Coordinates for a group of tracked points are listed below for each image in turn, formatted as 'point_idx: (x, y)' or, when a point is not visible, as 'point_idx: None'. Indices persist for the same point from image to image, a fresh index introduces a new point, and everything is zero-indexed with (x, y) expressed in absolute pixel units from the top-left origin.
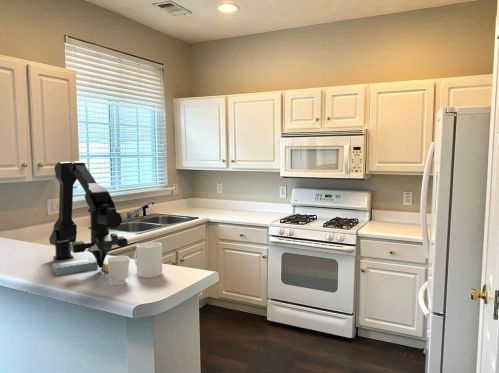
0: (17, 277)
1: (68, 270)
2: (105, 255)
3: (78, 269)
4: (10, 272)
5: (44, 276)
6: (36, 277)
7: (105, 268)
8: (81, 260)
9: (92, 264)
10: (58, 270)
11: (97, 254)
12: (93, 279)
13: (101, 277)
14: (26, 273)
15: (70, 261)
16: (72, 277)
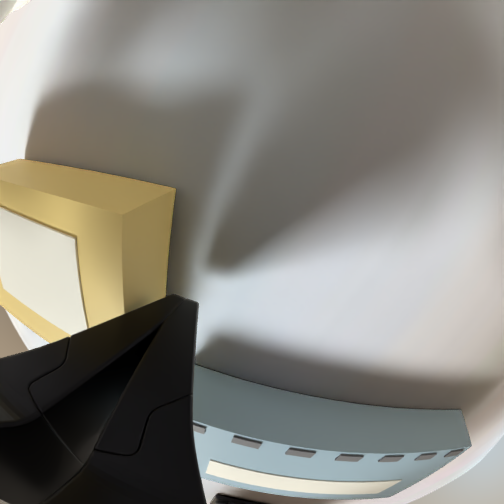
0: (493, 444)
1: (412, 426)
2: (17, 362)
3: (347, 417)
4: (443, 482)
5: (480, 420)
6: (494, 421)
7: (154, 217)
8: (252, 482)
9: (221, 413)
10: (459, 434)
11: (138, 497)
12: (432, 55)
13: (330, 35)
14: (447, 467)
15: (309, 495)
16: (483, 309)
